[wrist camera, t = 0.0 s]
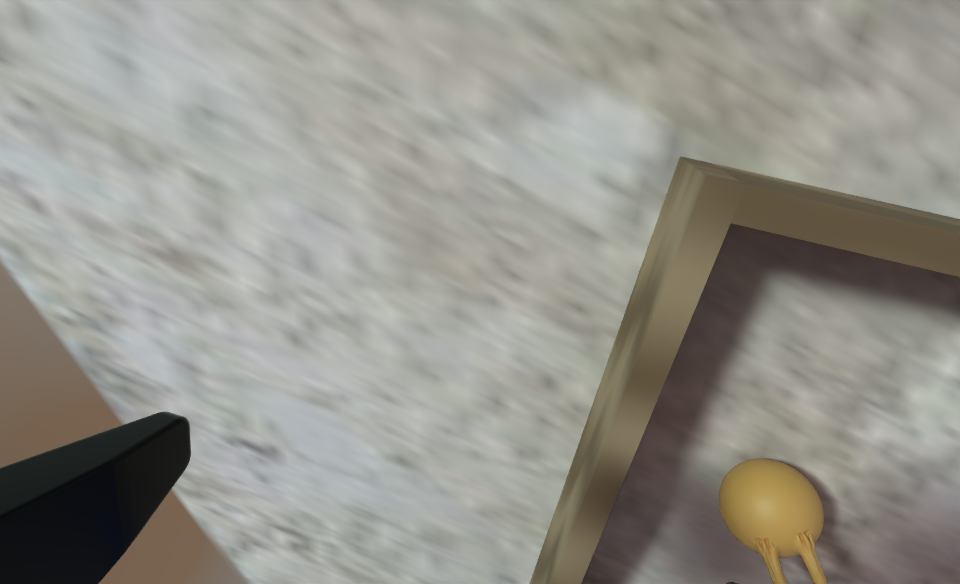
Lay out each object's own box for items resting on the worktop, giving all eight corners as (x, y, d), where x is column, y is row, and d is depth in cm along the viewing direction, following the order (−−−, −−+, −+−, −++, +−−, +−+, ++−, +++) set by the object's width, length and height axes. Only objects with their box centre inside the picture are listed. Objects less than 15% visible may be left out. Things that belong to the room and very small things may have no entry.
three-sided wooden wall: (766, 678, 29) (796, 776, 25) (523, 601, 30) (514, 682, 26) (1078, 246, 18) (1222, 293, 14) (680, 156, 19) (706, 175, 15)
